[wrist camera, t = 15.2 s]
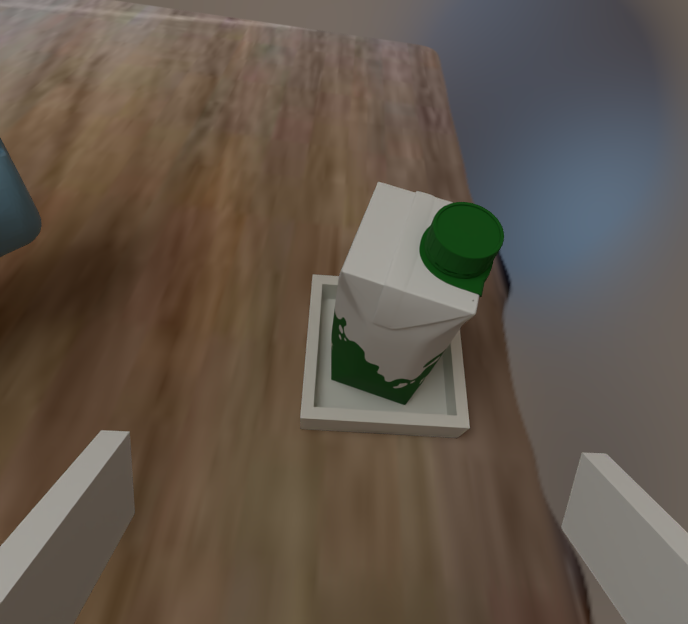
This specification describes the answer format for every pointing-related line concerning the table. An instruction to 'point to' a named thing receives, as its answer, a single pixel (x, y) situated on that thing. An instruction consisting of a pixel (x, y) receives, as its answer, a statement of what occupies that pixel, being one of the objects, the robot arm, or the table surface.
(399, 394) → the soya milk
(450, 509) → the table surface
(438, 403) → the square holder
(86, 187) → the table surface
